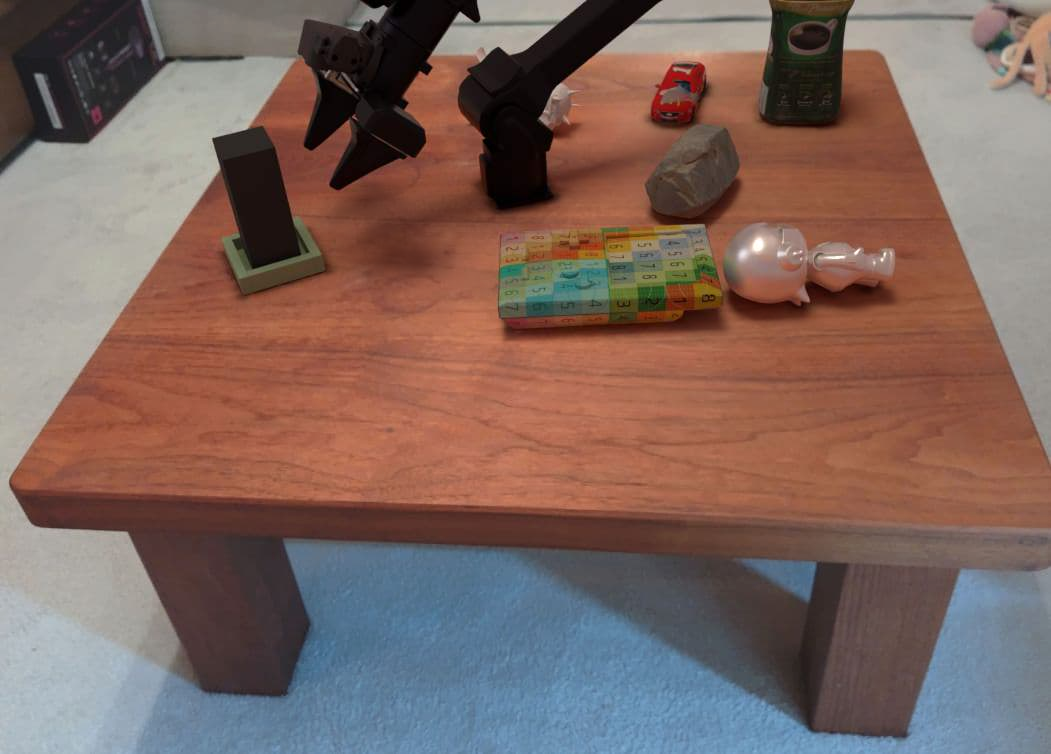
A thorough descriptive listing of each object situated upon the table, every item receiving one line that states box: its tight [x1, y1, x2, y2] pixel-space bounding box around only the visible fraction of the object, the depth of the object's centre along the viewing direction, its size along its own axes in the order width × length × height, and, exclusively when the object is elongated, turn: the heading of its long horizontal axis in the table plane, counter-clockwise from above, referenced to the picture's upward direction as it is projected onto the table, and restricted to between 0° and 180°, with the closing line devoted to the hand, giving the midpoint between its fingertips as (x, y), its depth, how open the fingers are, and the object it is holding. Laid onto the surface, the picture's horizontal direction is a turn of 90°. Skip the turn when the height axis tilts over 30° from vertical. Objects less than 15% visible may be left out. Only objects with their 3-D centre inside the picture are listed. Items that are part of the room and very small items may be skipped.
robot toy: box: [475, 46, 584, 131], centre depth 121 cm, size 15×9×14 cm
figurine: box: [722, 221, 896, 307], centre depth 92 cm, size 11×7×15 cm
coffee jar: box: [758, 0, 856, 125], centre depth 116 cm, size 10×8×19 cm
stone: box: [644, 122, 741, 219], centre depth 106 cm, size 12×8×8 cm, turn 152°
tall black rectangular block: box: [211, 125, 301, 270], centre depth 99 cm, size 5×5×13 cm
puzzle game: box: [497, 223, 724, 330], centre depth 95 cm, size 12×5×20 cm
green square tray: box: [220, 215, 326, 296], centre depth 103 cm, size 8×8×2 cm
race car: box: [650, 60, 707, 124], centre depth 124 cm, size 13×5×4 cm, turn 161°
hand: (319, 167), depth 100 cm, fingers open, 9 cm apart
